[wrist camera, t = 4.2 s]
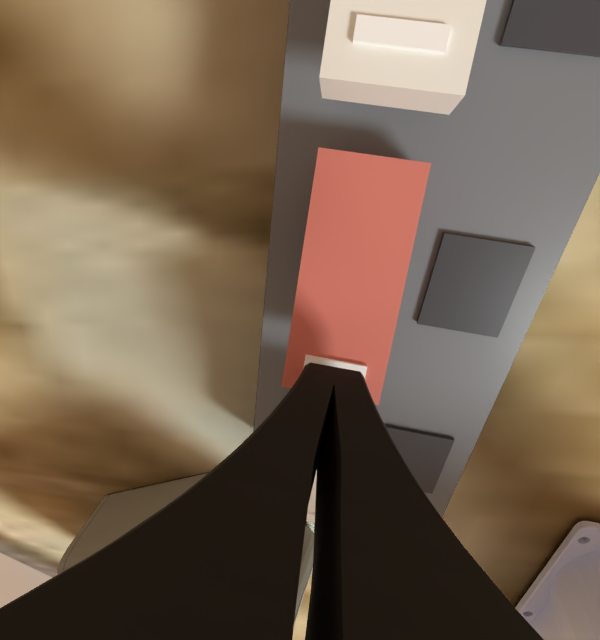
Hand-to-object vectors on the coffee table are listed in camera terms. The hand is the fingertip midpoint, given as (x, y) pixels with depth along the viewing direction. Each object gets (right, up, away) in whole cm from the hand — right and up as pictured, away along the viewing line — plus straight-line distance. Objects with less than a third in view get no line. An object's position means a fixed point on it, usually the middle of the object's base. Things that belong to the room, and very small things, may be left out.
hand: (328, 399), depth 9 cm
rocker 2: (+1, +3, +1) cm, 3 cm away
